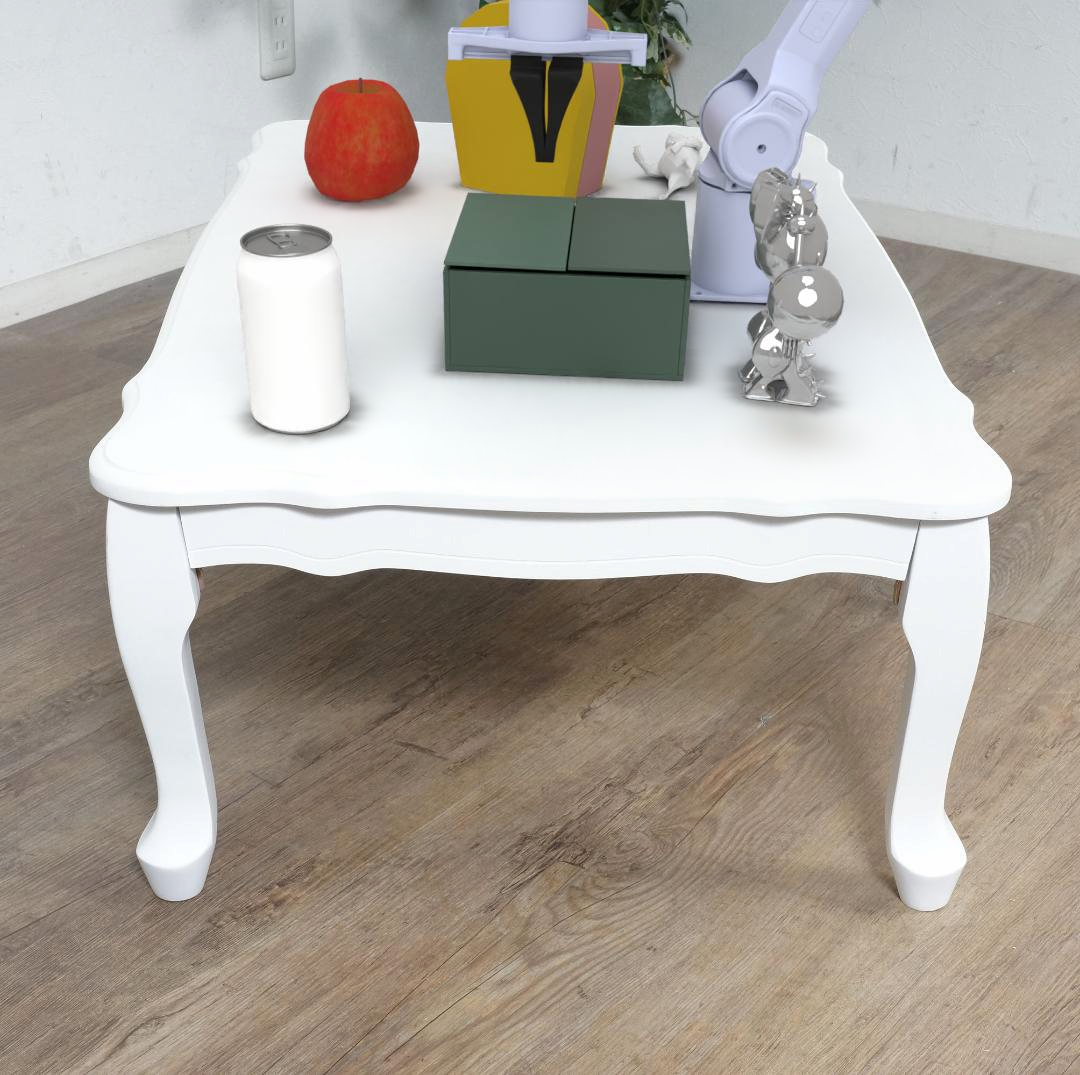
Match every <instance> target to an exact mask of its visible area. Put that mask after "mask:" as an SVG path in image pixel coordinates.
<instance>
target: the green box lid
mask: <svg viewBox="0 0 1080 1075" xmlns="http://www.w3.org/2000/svg"><path fill="white" fill-rule="evenodd" d="M575 204H576V201H575V198H572V197H552V196H531V195H511V194H496V193H491V192H470V191H469V192H467V194H466V197H465V199H464V203H463V205H462V209H461V211H460V214H459V217H458V220H457V223H456V225H455V228H454V231H453V234H452V236H451V240H450V242H449V246H448V249H447V251H446V254H445V257H444V260H443V265H444V266H445V265H457V266H476V267H496V268H515V269H535V270H555V271H566V265H567V257H568V249H569V242H570V234H571V226H572V219H573V211H574V205H575Z"/></svg>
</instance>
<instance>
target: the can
mask: <svg viewBox="0 0 1080 1075" xmlns="http://www.w3.org/2000/svg"><path fill="white" fill-rule="evenodd" d="M333 240H334V238H333V235H332V234H331V232H330V231H328V230H327V229H324V228H322V227H319V226H316V225H311V224H303V223H278V224H271V225H265V226H260V227H257V228H254V229H251V230H249V231H247V232H246V233H244V234H242V235H241V237H240V238H239V244H240V247H241V249H240V252H239V254H238V257H237V260H236V263H235V273H236V286H237V295H238V304H239V312H240V313H239V314H240V322H241V332H242V340H243V342H242V343H243V350H244V351H243V352H244V358H245V367H246V368H245V369H246V376H247V385H248V392H249V393H248V395H249V401H250V402H249V403H250V409H251V410H250V411H251V414H252V416H253V418H254V419H255V421H257V422H258V423H259V424H260V425H261V426H262V427H264V428H265V429H268V430H270V431H273V432H276V433H281V434H286V435H287V434H288V435H289V434H290V435H307V434H314V433H318V432H321V431H324V430H328V429H330V428H332V427H334V426H336V425H338V424H339V423H340V422H342V421H343V419H344V418H345V417H346V416H347V414H348V413H349V411H350V408H351V396H350V394H351V393H350V380H349V379H350V378H349V360H348V346H347V331H346V329H347V328H346V316H345V302H344V300H345V299H344V286H343V272H342V264H341V259H340V256H339V254H338V252H337V251H336V249H335V247H334V245H333V243H332V242H333Z"/></svg>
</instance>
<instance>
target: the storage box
mask: <svg viewBox="0 0 1080 1075" xmlns="http://www.w3.org/2000/svg"><path fill="white" fill-rule="evenodd" d="M688 232H689V231H688V221H687V209H686V201H685V200H680V199H679V200H678V199H677V200H675V199H662V200H659V199H653V198H651V199H650V198H649V199H647V198H626V197H624V198H622V197H601V196H600V197H599V196H598V197H597V196H584V197H577V200H576V201H575V204H574V211H573V219H572V226H571V234H570V242H569V249H568V257H567V265H566V271H555V270H535V269H515V268H496V267H476V266H457V265H444V267H443V270H442V285H443V286H442V287H443V288H442V289H443V291H442V292H443V294H442V295H443V329H444V330H443V331H444V333H443V334H444V370H445V371H455V372H456V371H457V372H458V371H459V372H482V373H500V374H502V373H503V374H505V373H506V374H522V375H523V374H525V375H544V376H545V375H548V376H568V377H569V376H570V377H592V378H611V379H612V378H613V379H614V378H616V379H617V378H618V379H636V380H637V379H639V380H661V381H682V382H683V381H684V373H685V363H686V362H685V361H686V352H687V351H686V350H687V340H688V339H687V338H688V326H689V314H690V302H691V300H690V292H691V265H690V260H691V254H690V244H689V243H690V242H689V233H688Z"/></svg>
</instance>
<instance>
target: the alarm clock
mask: <svg viewBox="0 0 1080 1075" xmlns="http://www.w3.org/2000/svg"><path fill="white" fill-rule="evenodd" d="M498 26H509V0H499V1H495V2H490V3H488V4H485V5H483V6H482V7H480V8H479V9H478V10H476V11H475V12H473V13H472V14H471V15H469V16H468V17H467V18H464V19H463V20H462V22H461V24H460V26H459V28H473V27H498ZM587 28H589V29H598V30H607V31H611V30H610V27H609V25H608V23H607V21H606V20H605V19H604V18H603V17H602V16H601V15H600V14H599V13H598V12H597V11H596V10H595V9H594V8H593V7H592V6H591V5H590V4H589V3H588V17H587ZM446 60H447V61H446V66H445V67H446V68H445V74H444V80H445V86H446V93H447V99H448V105H449V111H450V112H449V113H450V119H451V126H452V131H453V132H452V133H453V138H454V145H455V150H456V157H457V164H458V170H459V176H460V184H461V187H465V188H468V189H469V188H470V189H474V190H478V191H482V192H486V193H491V194H511V195H531V196H552V197H572V198H575V202H576V200H577V197H587V196H588V195H590V194H593V193H594V192H596V191H598V190H600V189H602V187H603V183H604V178H605V173H606V169H607V163H608V159H609V154H610V148H611V143H612V139H613V135H614V129H615V124H616V120H617V115H618V111H619V107H620V102H621V97H622V93H623V90H624V89H623V88H624V77H623V67H622V64H619V63H590V62H584V65H583V72H582V77H581V79H580V81H579V84H578V86H577V88H576V90H575V92H574V94H573V96H572V98H571V101H570V103H569V105H568V108H567V110H566V113H565V116H564V118H563V121H562V124H561V127H560V131H559V134H558V138H557V142H556V150H555V159H554V162H553V163H545V162H535V150H534V144H533V139H532V134H531V130H530V126H529V123H528V120H527V117H526V114H525V111H524V108H523V105H522V103H521V101H520V98H519V96H518V94H517V91H516V89H515V87H514V85H513V83H512V80H511V77H510V73H509V72H510V65H511V60H501V59H471V58H464V59H463V60H449V59H448V58H447V59H446ZM550 62H551V61H547V65H546V91H545V121H546V132H547V121H548V69H549V66H550Z"/></svg>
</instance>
